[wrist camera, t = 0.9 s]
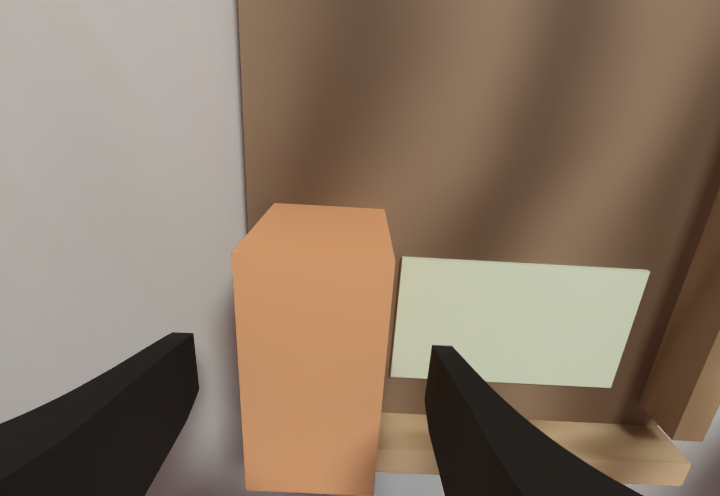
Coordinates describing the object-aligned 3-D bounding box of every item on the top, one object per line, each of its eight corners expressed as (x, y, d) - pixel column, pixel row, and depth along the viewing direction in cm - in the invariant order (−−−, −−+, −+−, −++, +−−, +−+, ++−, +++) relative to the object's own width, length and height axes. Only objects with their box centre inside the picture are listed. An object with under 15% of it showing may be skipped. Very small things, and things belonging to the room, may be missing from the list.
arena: (811, -3, 12) (921, -29, 10) (640, 435, 19) (681, 485, 16) (241, -40, 12) (211, -76, 10) (259, 417, 18) (244, 465, 16)
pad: (646, 269, 15) (650, 271, 15) (607, 384, 17) (610, 388, 17) (401, 256, 15) (402, 258, 15) (390, 373, 17) (390, 376, 17)
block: (274, 202, 14) (231, 252, 10) (384, 209, 14) (395, 261, 10) (278, 383, 17) (245, 490, 12) (370, 388, 17) (373, 496, 12)
